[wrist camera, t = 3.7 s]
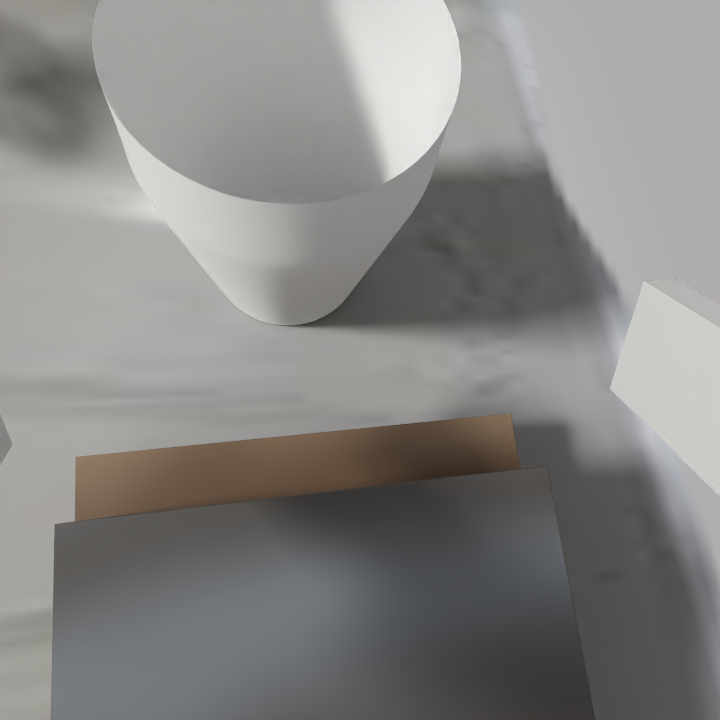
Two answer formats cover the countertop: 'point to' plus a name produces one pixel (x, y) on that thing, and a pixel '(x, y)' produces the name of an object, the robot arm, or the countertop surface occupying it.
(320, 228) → the cup
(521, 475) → the stepped display pedestal
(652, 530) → the countertop surface
